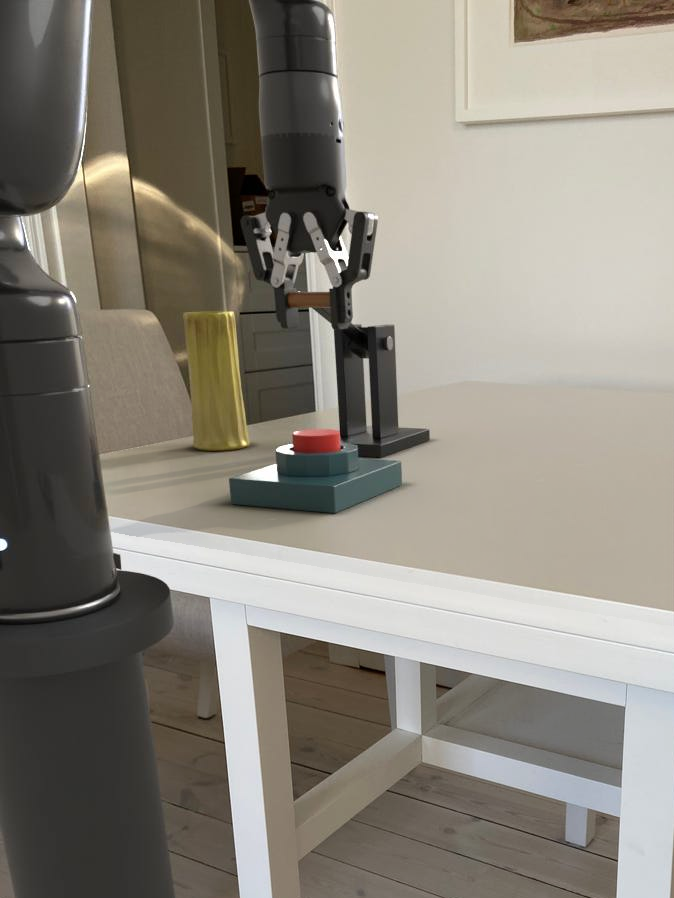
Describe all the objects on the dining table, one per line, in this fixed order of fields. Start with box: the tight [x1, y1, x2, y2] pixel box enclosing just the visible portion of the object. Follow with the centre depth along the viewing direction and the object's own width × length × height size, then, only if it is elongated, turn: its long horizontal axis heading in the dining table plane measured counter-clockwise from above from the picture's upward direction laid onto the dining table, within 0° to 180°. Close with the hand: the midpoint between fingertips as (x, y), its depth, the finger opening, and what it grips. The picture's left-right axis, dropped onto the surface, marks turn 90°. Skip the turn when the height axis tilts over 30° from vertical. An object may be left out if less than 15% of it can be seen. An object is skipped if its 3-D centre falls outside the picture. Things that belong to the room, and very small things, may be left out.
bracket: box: [333, 323, 431, 459], centre depth 108 cm, size 12×9×13 cm
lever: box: [287, 291, 369, 360], centre depth 101 cm, size 13×5×2 cm, turn 158°
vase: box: [182, 310, 251, 452], centre depth 108 cm, size 6×6×14 cm
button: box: [291, 428, 341, 453], centre depth 85 cm, size 4×4×2 cm
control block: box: [228, 442, 403, 514], centre depth 86 cm, size 12×10×4 cm
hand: (315, 327), depth 97 cm, fingers closed on lever, 5 cm apart
